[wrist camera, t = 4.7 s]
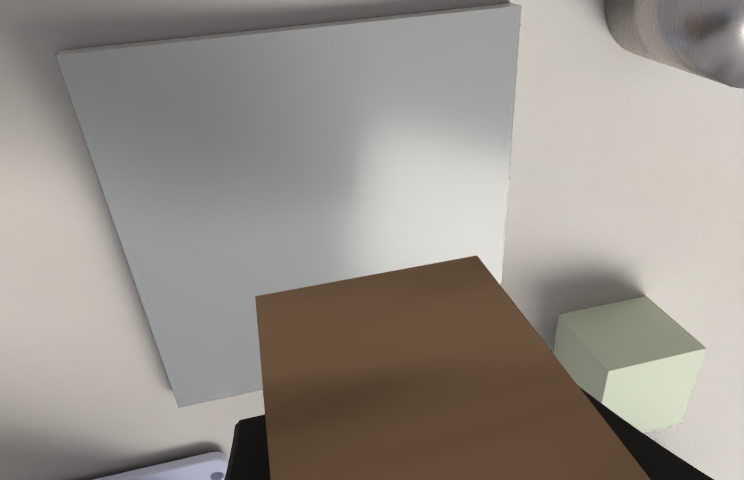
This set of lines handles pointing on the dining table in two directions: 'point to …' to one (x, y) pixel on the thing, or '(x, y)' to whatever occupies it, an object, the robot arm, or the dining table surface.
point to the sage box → (631, 360)
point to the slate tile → (295, 166)
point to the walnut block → (423, 385)
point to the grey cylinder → (683, 34)
